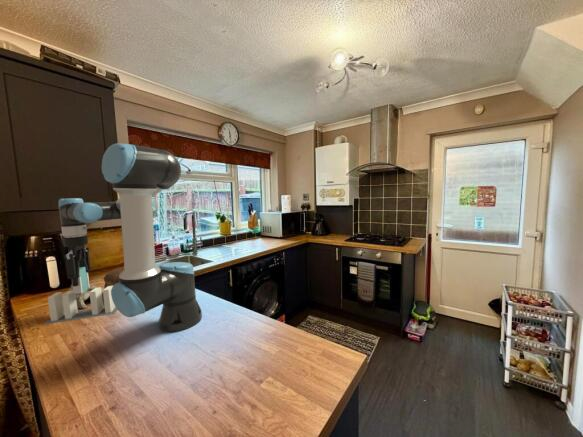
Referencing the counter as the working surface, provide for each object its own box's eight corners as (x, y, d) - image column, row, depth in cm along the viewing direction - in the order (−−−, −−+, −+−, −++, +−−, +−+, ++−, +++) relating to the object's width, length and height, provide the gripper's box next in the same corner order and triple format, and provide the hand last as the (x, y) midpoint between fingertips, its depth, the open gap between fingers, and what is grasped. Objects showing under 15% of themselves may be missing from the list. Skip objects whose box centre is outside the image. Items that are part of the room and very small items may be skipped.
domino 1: (64, 314, 100) (61, 291, 100) (57, 320, 96) (53, 296, 95) (58, 315, 100) (55, 292, 99) (51, 321, 95) (47, 297, 94)
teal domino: (88, 289, 102) (85, 266, 101) (81, 293, 98) (78, 270, 97) (82, 289, 102) (79, 267, 101) (75, 294, 97) (72, 270, 96)
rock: (50, 289, 114) (88, 279, 127) (54, 308, 114) (91, 296, 127) (74, 290, 102) (113, 279, 116) (77, 311, 103) (116, 298, 116)
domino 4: (115, 307, 106) (113, 285, 105) (110, 312, 101) (108, 289, 100) (110, 307, 105) (107, 286, 104) (105, 313, 101) (102, 290, 100)
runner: (122, 305, 108) (121, 304, 108) (113, 314, 100) (113, 313, 100) (56, 314, 101) (56, 314, 101) (42, 325, 93) (41, 324, 93)
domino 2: (77, 312, 102) (75, 290, 101) (71, 318, 97) (68, 294, 96) (72, 313, 101) (69, 291, 100) (65, 319, 97) (62, 295, 96)
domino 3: (103, 308, 105) (100, 287, 104) (98, 314, 100) (95, 291, 99) (97, 309, 104) (95, 287, 103) (92, 315, 99) (89, 292, 98)
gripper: (73, 238, 90) (80, 297, 92) (96, 232, 107) (102, 281, 109) (48, 240, 88) (57, 300, 90) (76, 233, 105) (82, 284, 107)
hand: (81, 290), depth 100 cm, fingers closed on teal domino, 5 cm apart
